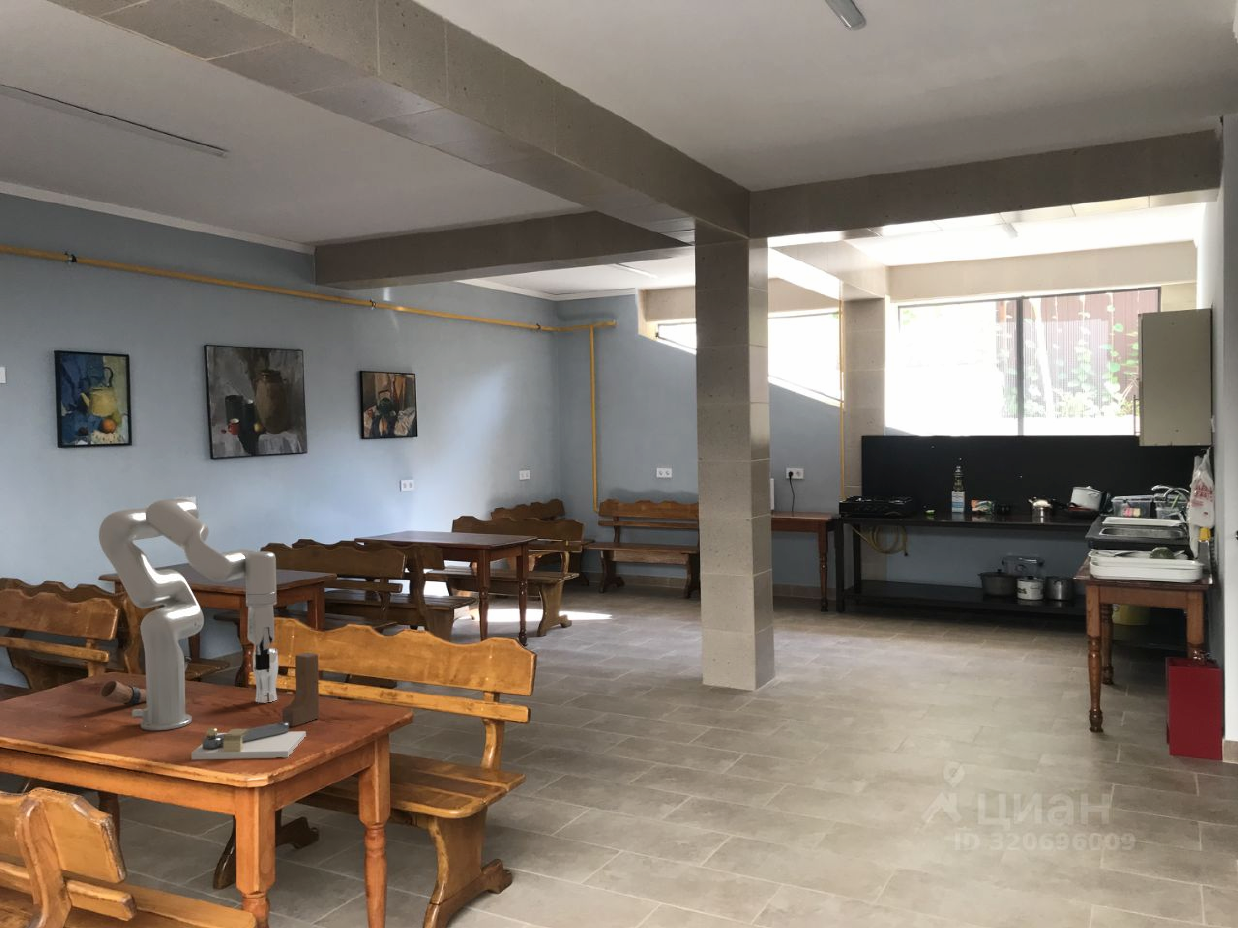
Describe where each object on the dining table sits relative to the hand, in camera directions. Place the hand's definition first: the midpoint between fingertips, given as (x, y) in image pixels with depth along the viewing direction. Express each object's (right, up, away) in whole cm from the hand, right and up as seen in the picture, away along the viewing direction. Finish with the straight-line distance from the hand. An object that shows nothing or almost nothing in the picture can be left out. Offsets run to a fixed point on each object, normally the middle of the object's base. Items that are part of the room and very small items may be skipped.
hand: (262, 668), depth 259 cm
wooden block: (+7, -17, +11) cm, 21 cm away
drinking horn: (-46, -17, +34) cm, 59 cm away
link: (0, -16, -10) cm, 18 cm away
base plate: (+1, -17, -11) cm, 21 cm away
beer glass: (-10, -16, +32) cm, 37 cm away
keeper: (-3, -16, -16) cm, 23 cm away
